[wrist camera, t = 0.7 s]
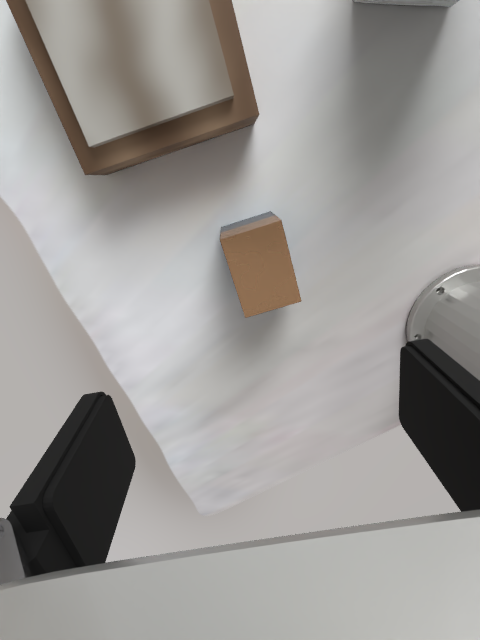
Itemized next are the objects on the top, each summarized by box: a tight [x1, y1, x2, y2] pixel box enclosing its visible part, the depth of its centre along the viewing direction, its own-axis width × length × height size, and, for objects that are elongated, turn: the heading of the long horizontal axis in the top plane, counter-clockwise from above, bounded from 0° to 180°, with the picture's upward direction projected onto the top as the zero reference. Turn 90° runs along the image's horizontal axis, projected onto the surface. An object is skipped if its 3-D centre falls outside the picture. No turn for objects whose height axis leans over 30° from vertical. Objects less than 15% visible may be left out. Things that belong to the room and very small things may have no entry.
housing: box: [220, 211, 301, 318], centre depth 31 cm, size 5×7×7 cm
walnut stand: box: [6, 0, 259, 175], centre depth 24 cm, size 14×14×6 cm
